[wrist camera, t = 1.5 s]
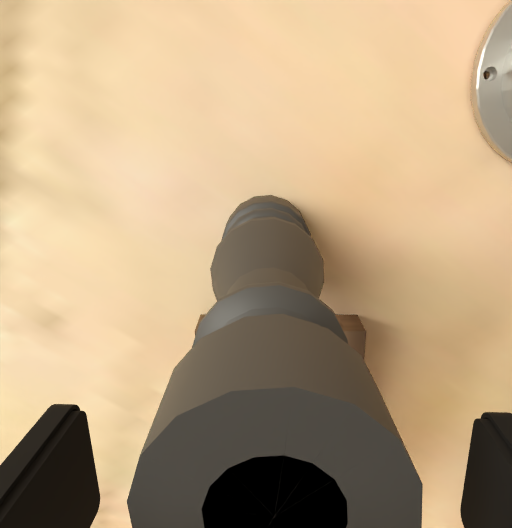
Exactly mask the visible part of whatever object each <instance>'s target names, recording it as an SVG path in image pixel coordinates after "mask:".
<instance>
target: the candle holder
mask: <svg viewBox="0 0 512 528" xmlns="http://www.w3.org/2000/svg"><path fill="white" fill-rule="evenodd" d="M211 277H212V286H213V291H214V294H215V296H216V299H217V302H216V304H215V305H214V306H213V307H212V308H211V309H210V310H209V312H208V313H207V314H206V315H205V316H204V317H203V318H202V320H201V321H200V323H199V326H198V330H197V333H196V336H195V340H194V343H193V346H192V349H191V350H190V351H189V352H188V353H187V354H186V355H185V357H184V358H183V359H182V360H181V361H180V362H179V363H178V365H177V366H176V367H175V368H174V370H173V373H172V375H171V378H170V380H169V383H168V385H167V388H166V390H165V393H164V396H163V398H162V401H161V403H160V406H159V408H158V411H157V413H156V416H155V419H154V421H153V424H152V426H151V429H150V431H149V434H148V436H147V439H146V442H145V444H144V447H143V449H142V452H141V454H140V457H139V461H138V464H137V468H136V471H135V475H134V478H133V482H132V485H131V489H130V492H129V496H128V499H127V505H128V509H129V514H130V519H131V523H132V528H421V523H422V482H421V480H420V478H419V476H418V474H417V472H416V469H415V467H414V465H413V463H412V461H411V459H410V456H409V454H408V452H407V450H406V448H405V446H404V443H403V441H402V439H401V437H400V435H399V433H398V431H397V428H396V426H395V424H394V422H393V420H392V418H391V415H390V413H389V411H388V409H387V407H386V405H385V402H384V400H383V398H382V396H381V394H380V392H379V390H378V388H377V386H376V384H375V382H374V380H373V378H372V376H371V374H370V372H369V370H368V368H367V366H366V364H365V362H364V360H363V358H362V356H361V354H359V353H358V352H357V351H356V350H354V349H353V348H352V347H351V346H349V345H348V340H347V337H346V335H345V333H344V331H343V329H342V327H341V325H340V323H339V321H338V319H337V318H336V316H335V314H334V312H333V310H332V309H330V308H329V307H328V306H327V305H326V304H324V303H323V302H322V301H321V300H319V296H320V293H321V289H322V286H323V283H324V268H323V259H322V257H321V255H320V253H319V251H318V249H317V247H316V245H315V243H314V241H313V239H312V237H311V234H310V232H309V230H308V228H307V226H306V224H305V222H304V220H303V218H302V216H301V214H300V212H299V210H298V209H296V208H295V207H294V206H293V205H292V204H291V203H289V202H288V201H287V200H284V199H281V198H278V197H275V196H272V195H268V196H257V197H253V198H251V199H249V200H247V201H245V202H243V203H242V204H240V205H239V206H238V207H237V209H236V210H235V211H234V212H233V213H232V215H231V216H230V217H229V220H228V222H227V224H226V227H225V231H224V234H223V237H222V241H221V242H220V244H219V245H218V246H217V249H216V252H215V255H214V259H213V262H212V266H211Z"/></svg>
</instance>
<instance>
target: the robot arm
mask: <svg viewBox="0 0 512 528" xmlns="http://www.w3.org/2000/svg"><path fill="white" fill-rule="evenodd" d="M484 72H485V73H486V74H487V77H486V79H484V77H483V73H484ZM471 102H472V107H473V112H474V117H475V120H476V122H477V124H478V127H479V129H480V131H481V133H482V135H483V136H484V138H485V139H486V141H487V142H488V143H489V145H490V146H491V147H492V148H493V149H494V150H495V151H496V152H497V153H498V154H500V155H501V156H502V157H503V158H505V159H506V160H508V161H510V162H512V0H510V1H509V2H508V3H507V4H506V5H505V6H504V7H503V8H502V10H501V11H500V12H499V14H498V15H497V16H496V17H495V19H494V20H493V21H492V23H491V24H490V26H489V28H488V30H487V31H486V33H485V35H484V37H483V39H482V41H481V43H480V46H479V49H478V52H477V54H476V57H475V60H474V65H473V71H472V77H471ZM99 504H100V493H99V487H98V481H97V475H96V469H95V463H94V457H93V451H92V445H91V439H90V434H89V428H88V422H87V416H86V413H85V412H84V411H80V408H79V407H78V405H70V404H54V405H51V406H50V407H49V408H48V409H47V411H46V412H45V413H44V414H43V415H42V417H41V418H40V419H39V420H38V421H37V422H36V424H35V425H34V426H33V427H32V428H31V430H30V431H29V432H28V433H27V434H26V436H25V437H24V438H23V439H22V440H21V441H20V443H19V444H18V445H17V446H16V447H15V449H14V450H13V451H12V452H11V453H10V455H9V456H8V457H7V458H6V459H5V460H4V462H3V463H2V464H1V465H0V528H90V526H91V524H92V522H93V520H94V518H95V516H96V514H97V512H98V509H99ZM461 518H462V522H463V525H464V528H512V414H511V413H498V412H485V413H483V414H482V416H481V419H475V421H474V424H473V430H472V437H471V443H470V450H469V456H468V463H467V469H466V476H465V482H464V489H463V495H462V502H461Z"/></svg>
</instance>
